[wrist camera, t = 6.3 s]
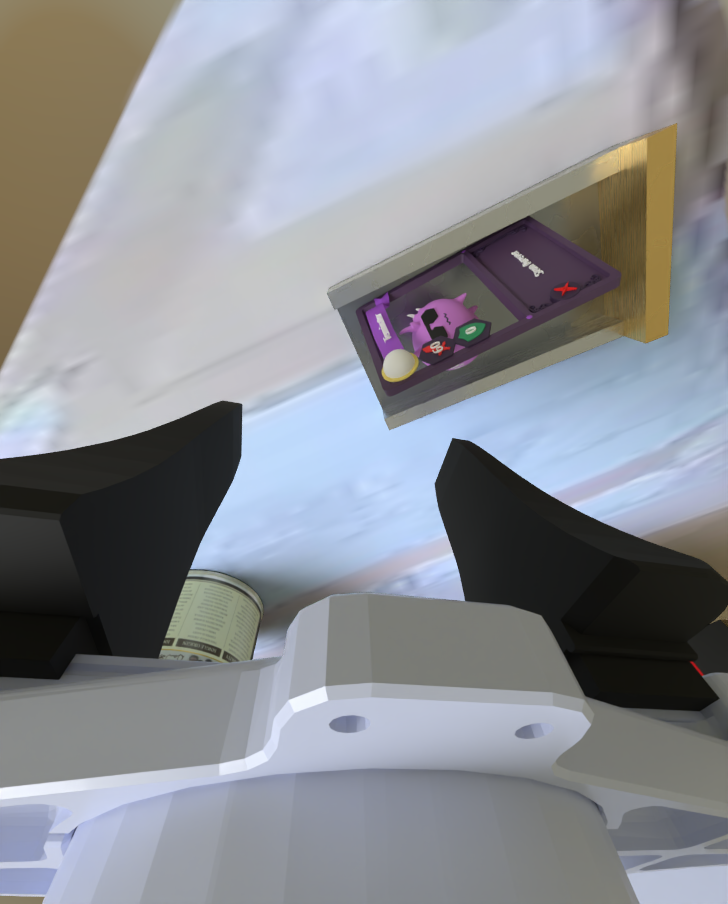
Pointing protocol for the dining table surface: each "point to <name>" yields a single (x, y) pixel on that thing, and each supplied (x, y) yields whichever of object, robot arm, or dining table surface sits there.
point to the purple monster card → (457, 328)
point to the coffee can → (213, 620)
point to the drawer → (575, 218)
